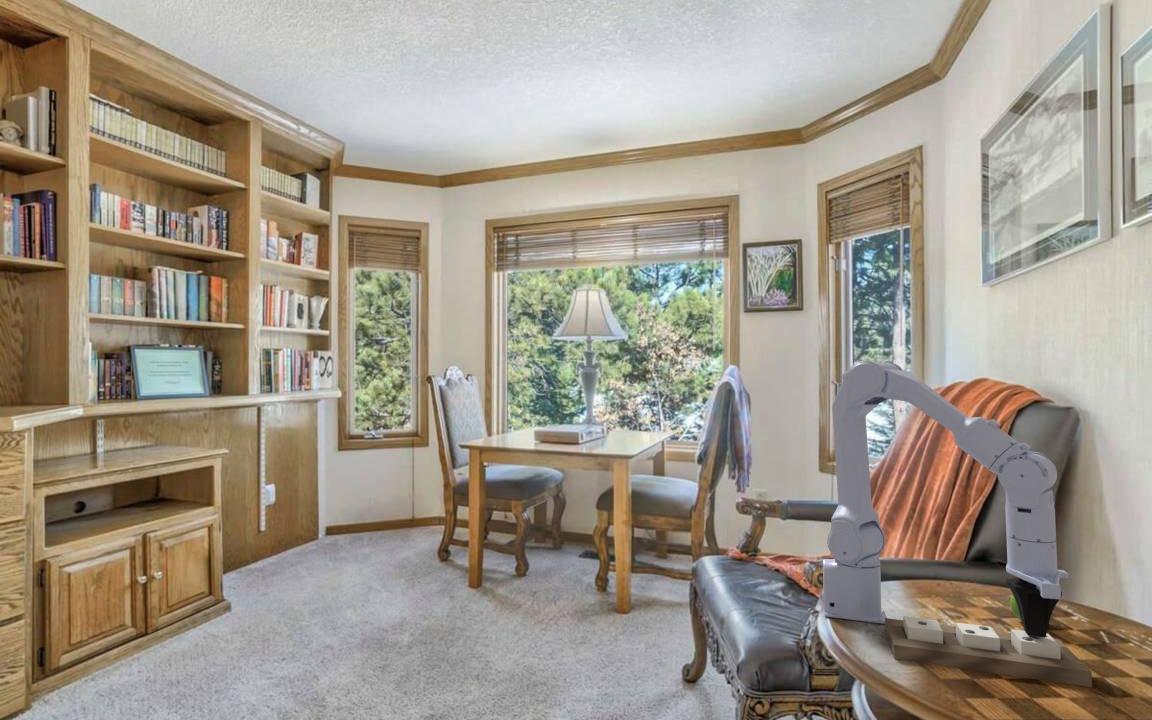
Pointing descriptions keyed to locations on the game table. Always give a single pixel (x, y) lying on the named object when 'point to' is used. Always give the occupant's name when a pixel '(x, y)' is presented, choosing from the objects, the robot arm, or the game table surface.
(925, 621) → the tile one pip
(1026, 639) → the tile three pips
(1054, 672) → the key board
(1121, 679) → the game table surface
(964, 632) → the tile two pips
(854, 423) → the robot arm
